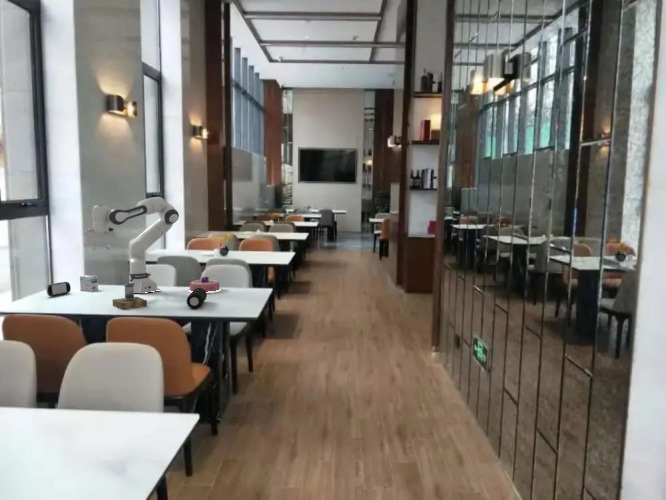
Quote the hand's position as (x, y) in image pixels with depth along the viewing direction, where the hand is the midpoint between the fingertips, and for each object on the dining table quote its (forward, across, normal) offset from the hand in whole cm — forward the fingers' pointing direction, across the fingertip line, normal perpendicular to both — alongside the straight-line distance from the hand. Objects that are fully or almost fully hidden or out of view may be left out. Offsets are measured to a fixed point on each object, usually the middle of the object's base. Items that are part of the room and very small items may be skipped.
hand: (100, 249), depth 372 cm
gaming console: (+34, -18, +36) cm, 53 cm away
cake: (+35, +70, -10) cm, 79 cm away
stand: (+34, +7, -30) cm, 46 cm away
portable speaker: (+35, +41, -54) cm, 76 cm away
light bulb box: (+34, +5, +44) cm, 56 cm away
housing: (+30, +7, -30) cm, 43 cm away
